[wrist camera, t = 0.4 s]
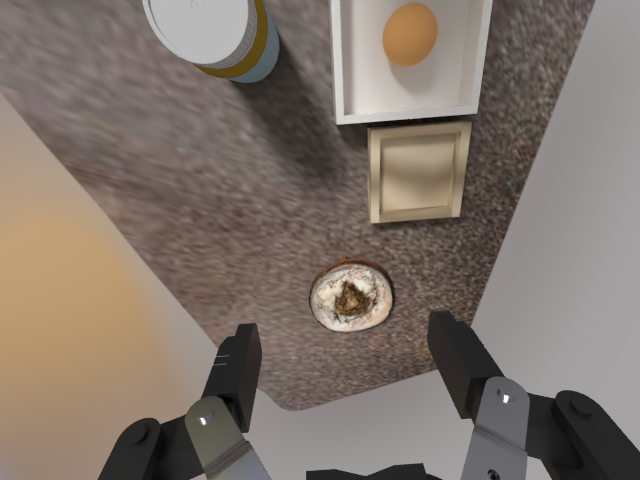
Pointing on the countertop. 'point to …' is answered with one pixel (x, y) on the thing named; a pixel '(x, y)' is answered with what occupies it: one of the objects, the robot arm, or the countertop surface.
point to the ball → (410, 34)
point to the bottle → (218, 35)
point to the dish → (412, 81)
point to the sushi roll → (351, 295)
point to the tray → (417, 170)
